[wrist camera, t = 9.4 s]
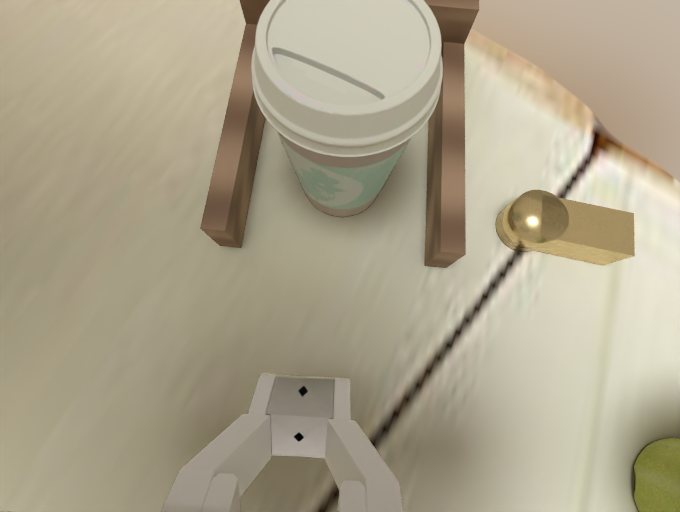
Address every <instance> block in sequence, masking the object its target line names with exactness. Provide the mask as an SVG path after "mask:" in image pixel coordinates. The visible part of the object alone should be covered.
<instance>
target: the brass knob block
mask: <svg viewBox="0 0 680 512" xmlns="http://www.w3.org/2000/svg"><path fill="white" fill-rule="evenodd" d="M496 230H497V234H498V236H499V238H500V239H501V241H502V242H503V243H504V244H505V245H507V246H508V247H509V248H511V249H513V250H516V251H520V252H528V251H532V250H534V251H539V252H543V253H548V254H553V255H557V256H562V257H567V258H571V259H576V260H581V261H585V262H590V263H595V264H599V265H606V264H609V263H613V262H616V261H619V260H623V259H626V258H629V257H633V256H635V255H634V213H630V212H625V211H620V210H615V209H610V208H606V207H601V206H596V205H591V204H586V203H581V202H576V201H572V200H567V199H562V198H557V197H556V196H555V195H553V194H551V193H549V192H547V191H543V190H532V191H528V192H526V193H524V194H522V195H521V196H520V197H519V198H517V199H516V200H515V201H514V202H512V203H511V204H510V205H509V206H507V207H506V208H505V209H503V210H502V211H501V212H500V214H499V215H498V217H497V220H496Z"/></svg>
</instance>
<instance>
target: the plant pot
mask: <svg viewBox="0 0 680 512" xmlns="http://www.w3.org/2000/svg"><path fill="white" fill-rule="evenodd" d="M634 470H635V476H636V487H635V492H634V499H635V502H636V506H637V508H638V511H639V512H680V439H678V438H666V439H661V440H657V441H654V442H653V443H651V444H649V445H648V446H647V447H645V448H644V449H643V451H642V452H641V453H640V454H639V456H638V458H637V460H636V462H635V465H634Z"/></svg>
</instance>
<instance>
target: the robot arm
mask: <svg viewBox="0 0 680 512" xmlns="http://www.w3.org/2000/svg"><path fill="white" fill-rule="evenodd" d="M271 455H273V456H301V457H313V458H324V459H325V461H326V464H327V466H328V468H329V470H330V472H331V474H332V476H333V478H334V480H335V483H336V485H337V487H338V489H339V491H340V493H339V501H338V510H337V512H403V505H402V498H401V491H400V484H399V481H398V480H397V478H396V477H395V476H394V474H393V473H392V471H391V470H390V469H389V467H388V466H387V464H386V463H385V462H384V460H383V459H382V457H381V456H380V455H379V453H378V452H377V450H376V449H375V447H374V446H373V445H372V443H371V442H370V440H369V439H368V438H367V436H366V435H365V433H364V432H363V431H362V429H361V428H360V426H359V425H358V424H357V422H356V421H355V420H351V406H350V379H349V378H336V377H335V378H334V377H317V376H298V375H287V374H272V373H261V375H260V376H259V379H258V382H257V386H256V389H255V392H254V395H253V398H252V401H251V405H250V408H249V411H248V414H242V415H241V416H240V417H239V418H238V419H236V420H235V421H234V422H233V423H232V424H231V425H230V426H228V427H227V428H226V429H225V430H224V431H223V432H222V433H221V434H219V435H218V436H217V437H216V438H215V439H214V440H213V441H211V442H210V443H209V444H208V445H207V446H206V447H205V448H204V449H202V450H201V451H200V452H199V453H198V454H197V455H196V456H194V457H193V458H192V459H191V460H190V461H189V462H188V463H187V464H185V465H184V466H183V467H182V468H181V469H180V471H179V473H178V475H177V477H176V479H175V482H174V484H173V486H172V488H171V490H170V493H169V495H168V497H167V499H166V501H165V504H164V506H163V508H162V510H161V512H241V504H240V497H241V496H242V495H243V493H244V492H245V491H246V489H247V488H248V487H249V486H250V484H251V483H252V482H253V480H254V479H255V478H256V477H257V475H258V474H259V473H260V471H261V470H262V469H263V468H264V466H265V465H266V464H267V462H268V461H269V460H270V459H271ZM0 512H10V511H0Z"/></svg>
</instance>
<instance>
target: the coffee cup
mask: <svg viewBox="0 0 680 512" xmlns="http://www.w3.org/2000/svg"><path fill="white" fill-rule="evenodd" d="M441 47H442V43H441V34H440V29H439V26H438V23H437V20H436V18H435V16H434V14H433V12H432V11H431V9H430V8H429V6H428V5H427V4H426V3H425V1H424V0H270V1H269V3H268V4H267V5H266V7H265V8H264V10H263V12H262V14H261V16H260V19H259V21H258V24H257V29H256V36H255V46H254V50H253V54H252V63H251V70H252V83H253V90H254V94H255V98H256V101H257V103H258V106H259V108H260V110H261V111H262V113H263V115H264V116H265V118H266V119H267V120H268V122H269V123H270V124H271V125H272V126H273V127H274V128H275V129H276V130H277V132H278V135H279V137H280V139H281V141H282V143H283V146H284V148H285V150H286V152H287V154H288V157H289V159H290V161H291V163H292V165H293V168H294V170H295V172H296V174H297V176H298V179H299V181H300V183H301V185H302V187H303V189H304V191H305V194H306V196H307V198H308V199H309V201H310V202H311V203H312V204H313V205H314V206H315V207H316V208H317V209H319V210H320V211H322V212H324V213H326V214H329V215H332V216H340V217H345V216H352V215H355V214H358V213H360V212H362V211H364V210H365V209H367V208H368V207H369V206H370V205H371V204H372V203H373V202H374V200H375V199H376V197H377V196H378V194H379V192H380V190H381V189H382V187H383V185H384V184H385V182H386V180H387V178H388V177H389V175H390V173H391V171H392V170H393V168H394V166H395V165H396V163H397V161H398V159H399V158H400V156H401V154H402V152H403V151H404V149H405V147H406V145H407V144H408V142H409V140H410V138H411V137H412V136H413V135H415V134H416V133H417V132H418V131H419V130H420V129H421V128H422V127H423V126H424V125H425V124H426V122H427V121H428V120H429V118H430V117H431V115H432V113H433V111H434V109H435V107H436V105H437V102H438V99H439V95H440V89H441V83H442V77H443V62H442V56H441Z"/></svg>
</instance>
